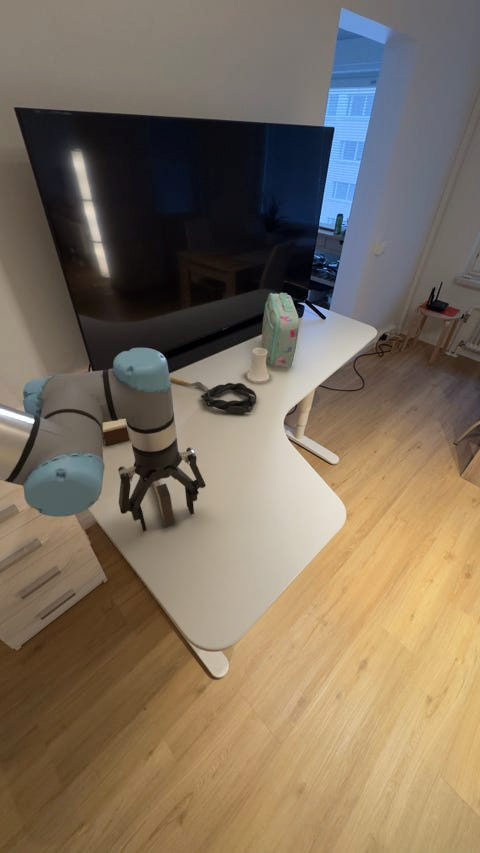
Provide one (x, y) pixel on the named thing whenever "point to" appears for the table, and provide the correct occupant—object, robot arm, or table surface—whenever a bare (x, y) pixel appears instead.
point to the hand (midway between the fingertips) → (167, 517)
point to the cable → (232, 405)
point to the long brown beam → (164, 503)
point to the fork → (189, 383)
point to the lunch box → (280, 330)
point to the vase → (258, 367)
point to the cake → (115, 432)
